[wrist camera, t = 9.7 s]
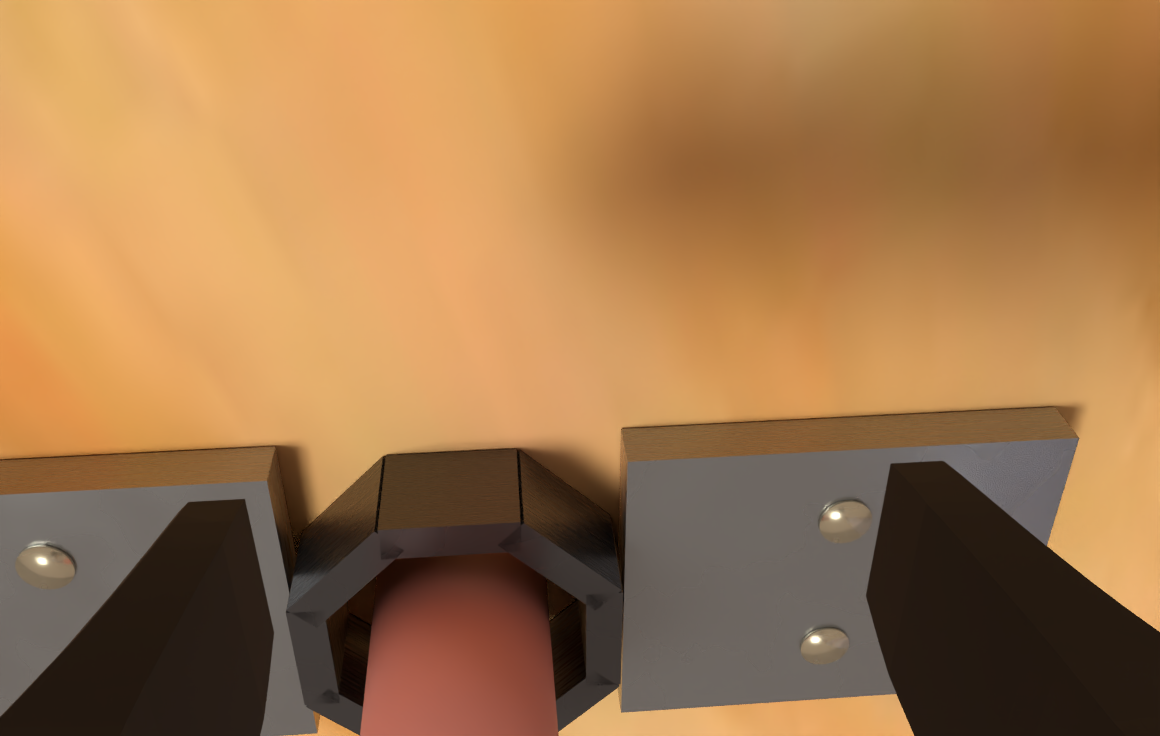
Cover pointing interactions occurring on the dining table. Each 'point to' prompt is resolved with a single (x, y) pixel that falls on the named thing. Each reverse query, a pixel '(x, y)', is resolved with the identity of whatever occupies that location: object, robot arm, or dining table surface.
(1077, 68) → the dining table surface
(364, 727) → the hinge pin
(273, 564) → the hinge
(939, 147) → the dining table surface
